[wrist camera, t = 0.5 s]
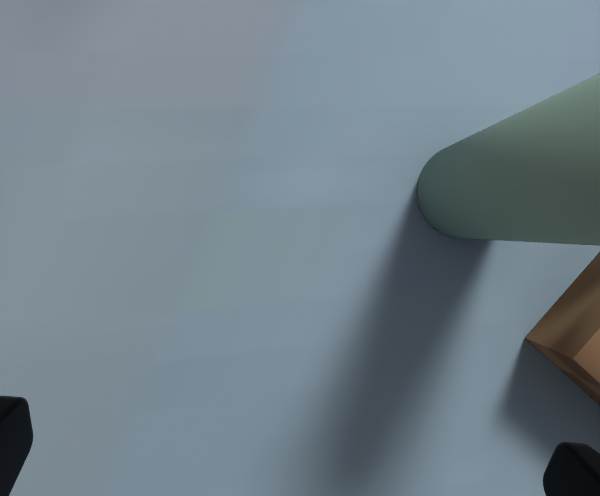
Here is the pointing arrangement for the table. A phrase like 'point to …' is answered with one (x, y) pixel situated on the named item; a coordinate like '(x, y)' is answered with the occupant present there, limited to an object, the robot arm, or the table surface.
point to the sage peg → (523, 175)
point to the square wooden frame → (575, 331)
